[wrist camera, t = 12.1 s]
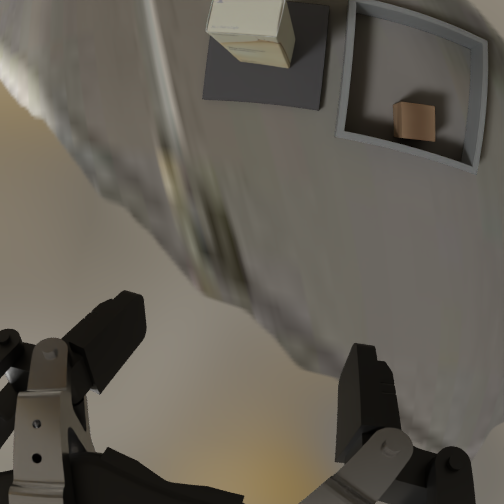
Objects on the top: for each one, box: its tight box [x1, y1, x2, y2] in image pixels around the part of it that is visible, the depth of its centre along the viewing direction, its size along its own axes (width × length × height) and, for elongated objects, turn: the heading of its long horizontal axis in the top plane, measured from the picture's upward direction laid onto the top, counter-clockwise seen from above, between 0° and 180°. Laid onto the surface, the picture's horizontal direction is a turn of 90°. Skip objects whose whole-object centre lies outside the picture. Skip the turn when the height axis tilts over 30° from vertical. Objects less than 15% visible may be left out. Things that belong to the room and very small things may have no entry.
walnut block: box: [393, 102, 435, 142], centre depth 28 cm, size 4×4×4 cm
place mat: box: [202, 2, 329, 111], centre depth 30 cm, size 14×14×1 cm
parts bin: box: [334, 0, 488, 175], centre depth 26 cm, size 18×18×4 cm
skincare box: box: [206, 0, 295, 68], centre depth 24 cm, size 6×4×12 cm
